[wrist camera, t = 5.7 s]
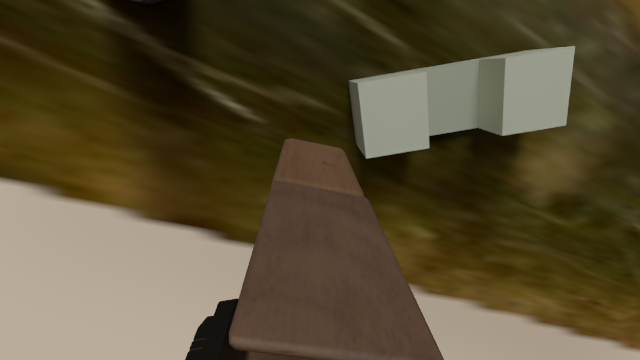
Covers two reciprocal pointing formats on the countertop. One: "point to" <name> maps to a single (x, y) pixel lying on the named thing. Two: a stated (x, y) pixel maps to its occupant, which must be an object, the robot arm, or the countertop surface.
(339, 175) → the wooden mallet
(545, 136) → the countertop surface
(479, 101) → the slotted beam
